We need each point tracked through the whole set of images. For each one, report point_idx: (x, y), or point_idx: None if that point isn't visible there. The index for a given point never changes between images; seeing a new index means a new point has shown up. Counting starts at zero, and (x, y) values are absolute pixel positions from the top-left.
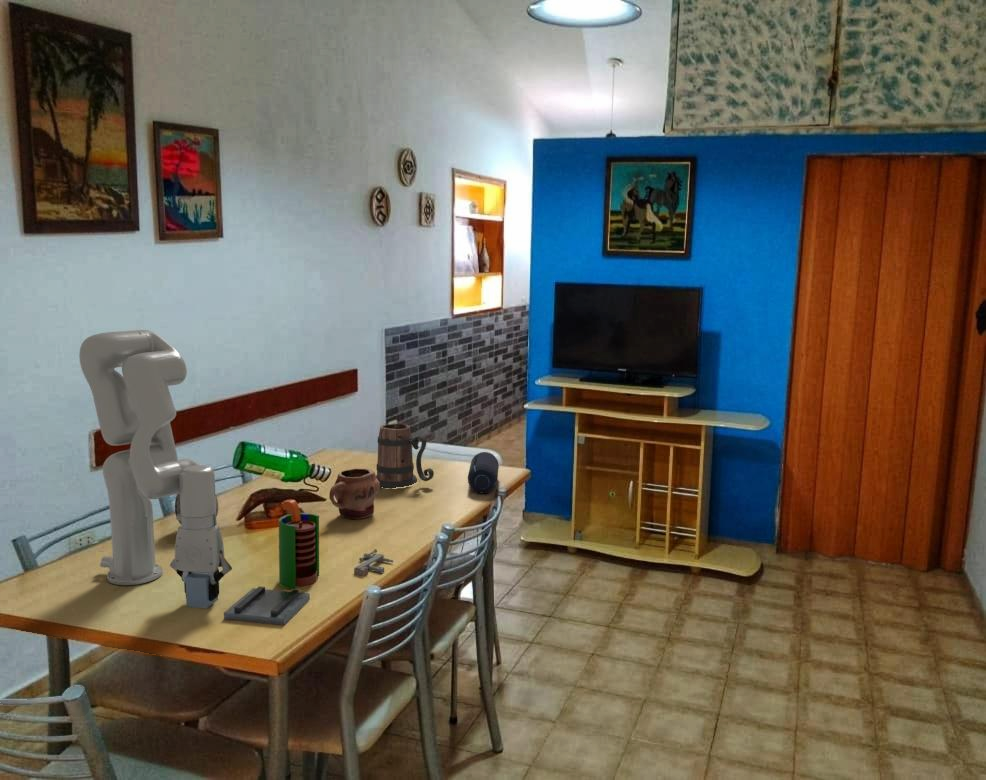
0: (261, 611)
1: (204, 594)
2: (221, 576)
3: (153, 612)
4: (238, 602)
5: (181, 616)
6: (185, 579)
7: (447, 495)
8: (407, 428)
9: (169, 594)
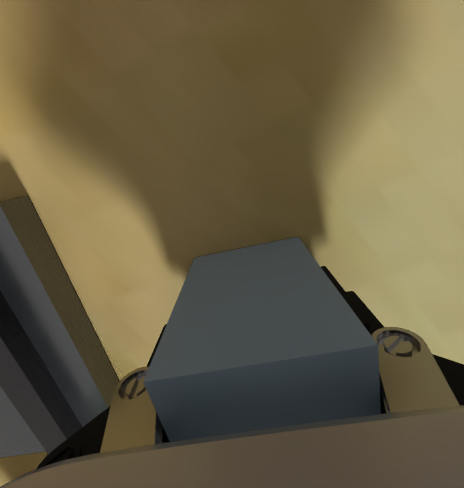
0: None
1: (191, 289)
2: (50, 454)
3: (421, 100)
4: (51, 323)
5: (238, 128)
6: (361, 325)
7: None
8: None
9: (458, 304)
